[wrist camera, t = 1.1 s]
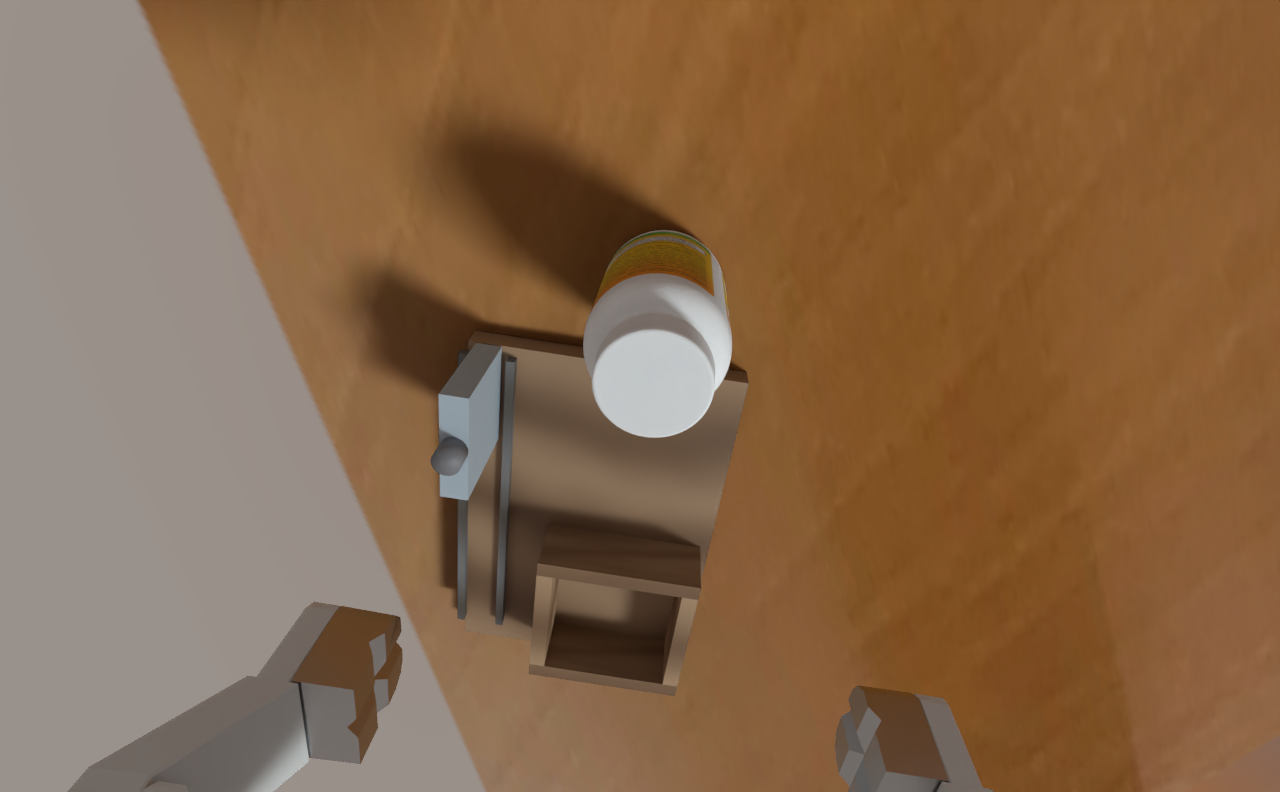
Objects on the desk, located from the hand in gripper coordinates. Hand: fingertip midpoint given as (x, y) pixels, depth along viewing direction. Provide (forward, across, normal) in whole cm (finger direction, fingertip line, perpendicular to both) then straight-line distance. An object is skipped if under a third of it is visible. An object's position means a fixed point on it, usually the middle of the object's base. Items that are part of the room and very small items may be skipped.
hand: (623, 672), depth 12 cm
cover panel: (+19, +8, +5) cm, 21 cm away
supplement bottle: (+20, 0, -1) cm, 21 cm away
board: (+21, +2, +12) cm, 24 cm away
